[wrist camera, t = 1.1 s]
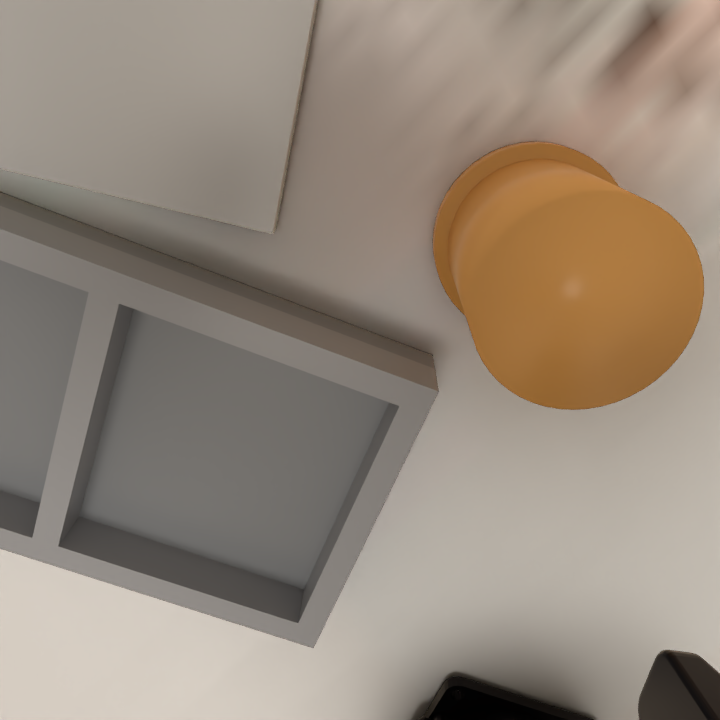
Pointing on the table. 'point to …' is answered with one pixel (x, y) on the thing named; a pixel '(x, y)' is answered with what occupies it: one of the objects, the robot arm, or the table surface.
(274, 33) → the lid
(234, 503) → the housing
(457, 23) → the table surface
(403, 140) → the table surface
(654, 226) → the orange drawer knob
